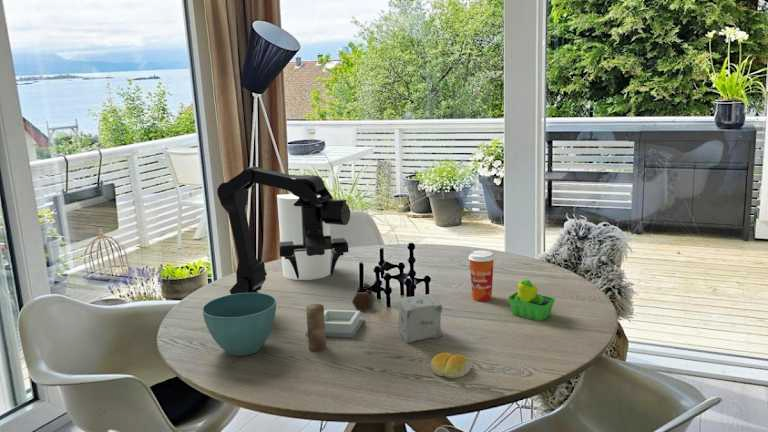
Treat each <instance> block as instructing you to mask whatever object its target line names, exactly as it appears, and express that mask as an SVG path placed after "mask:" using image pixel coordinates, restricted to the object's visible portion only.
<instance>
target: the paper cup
mask: <svg viewBox="0 0 768 432" xmlns="http://www.w3.org/2000/svg"><path fill="white" fill-rule="evenodd" d="M494 255H495V254H494V253H493V252H492V251H488V250H475V251H471V253H469V256H468V260H469V270H470V281H471V293H472V294H471V295H472V300H473V301H476V302H483V303H484V302H488V301H491V300H492V296H493V295H492V293H493V281H494V279H493V276H494V261H495V259H496V257H495V256H494Z"/></svg>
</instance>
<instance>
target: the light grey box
mask: <svg viewBox="0 0 768 432" xmlns="http://www.w3.org/2000/svg"><path fill="white" fill-rule="evenodd" d="M442 313H443V306H442V303H441V302H440V300H438V299H437V297H436V296H435V295H434V293H428V294H422V295H416V296H415V295H413V296H405V297H399V299H398V320H397V321H398V326H397V327H398V332H400V334H401V335H402V337H403V338H404V341H405V343H406V344H410V343H413V342H415V341H421V340H425V339H426V340H427V339H431V338H432V339H433V338H434V339H435V338H436V339H437V338H439V337H441V336H442V329H441V328H442V327H441V319H442V317H441V315H442Z"/></svg>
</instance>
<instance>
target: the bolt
mask: <svg viewBox="0 0 768 432" xmlns="http://www.w3.org/2000/svg"><path fill="white" fill-rule="evenodd" d="M370 287H371V285H370V284H368V283H365V282H364V289H368V288H370ZM359 289H360V285H358V288H357V290H356V294H355V295H354V297H353V299H352V301H351V302H352V304H353V306H354V308H355V309H356V310H357V311H361V310H363V311H365V310H368V309H369V308H370V306H371V304H372V303H373V299H372V298H371V295H372V294H373V292H374V291H369V290H368V291H365V292H359Z"/></svg>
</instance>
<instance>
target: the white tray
mask: <svg viewBox="0 0 768 432" xmlns="http://www.w3.org/2000/svg"><path fill="white" fill-rule="evenodd" d="M324 320H325V336H326V337H334V338H335V337H337V338H354V337H355V336H356V334H357V332H358V331H359V329H360V327H361V326H362V324H363V323H364V321H365V318H364V316H363V317H361V310H347V309H346V310H344V309H343V310H342V309H324ZM305 336H307V337H308V329H307V330H306V332H305Z"/></svg>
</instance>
